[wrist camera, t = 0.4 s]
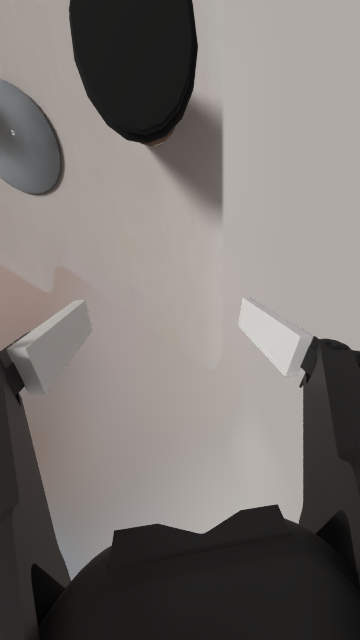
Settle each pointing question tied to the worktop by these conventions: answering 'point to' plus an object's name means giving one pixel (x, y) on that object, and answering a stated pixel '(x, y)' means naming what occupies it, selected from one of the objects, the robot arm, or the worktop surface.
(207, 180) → the worktop surface
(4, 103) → the slate coaster
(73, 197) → the worktop surface
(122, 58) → the coffee cup
